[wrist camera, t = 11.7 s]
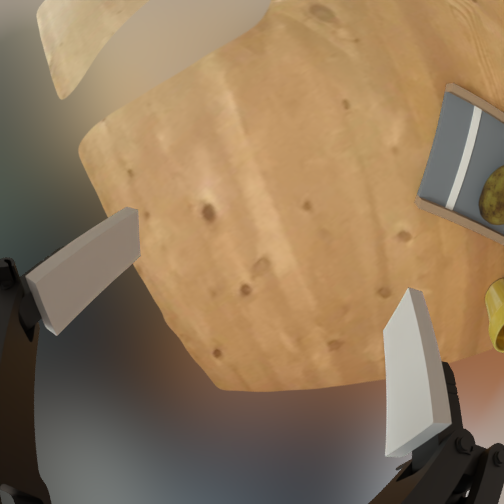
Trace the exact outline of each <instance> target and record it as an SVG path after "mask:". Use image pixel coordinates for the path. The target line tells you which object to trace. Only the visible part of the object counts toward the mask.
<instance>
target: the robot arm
mask: <svg viewBox="0 0 504 504" xmlns="http://www.w3.org/2000/svg"><path fill="white" fill-rule="evenodd" d="M140 256H141V255H140V241H139V220H138V210H137V209H133V208H129V207H125V208H124V209H122V210H120V211H119V212H117V213H115V214H114V215H112V216H111V217H109V218H107V219H106V220H104V221H103V222H101V223H100V224H98V225H96V226H95V227H93V228H92V229H90V230H89V231H87V232H86V233H84V234H83V235H81V236H80V237H78V238H77V239H75V240H74V241H72V242H71V243H69V244H68V245H66V246H63V247H61V248H59V249H57V250H56V251H54V252H53V253H51V254H50V256H47V257H46V258H45V259H44V260H42V261H40V262H39V263H38V264H36V265H35V266H34V267H32V268H31V269H30V270H29V271H27V272H26V273H25V274H23V275H22V276H21V277H19V274H18V271H17V268H16V266H15V262H14V260H13V259H12V258H2V259H0V490H2V491H5V492H7V493H9V494H10V495H11V496H12V498H13V499H14V502H15V504H51V500H50V495H49V492H48V489H47V486H46V484H45V483H44V482H43V480H42V479H41V477H40V474H39V470H38V463H37V454H36V443H35V428H34V381H35V364H36V354H37V345H38V337H39V336H38V335H39V329H40V328H39V323H38V321H39V320H40V319H41V318H42V320H43V322H44V324H45V326H46V328H47V329H48V330H50V331H51V332H53V333H54V334H55V335H58V334H59V333H60V332H61V331H62V330H63V329H64V328H65V327H66V326H67V325H68V324H69V323H70V322H71V321H72V320H73V319H74V318H75V317H76V316H77V315H78V314H79V313H80V312H81V311H82V310H83V309H84V308H85V307H86V306H87V305H88V304H89V303H90V302H91V301H92V300H93V299H94V298H95V297H96V296H97V295H99V294H100V292H102V291H103V290H104V289H105V288H106V287H107V286H108V285H109V284H110V283H111V282H112V281H114V280H115V279H116V278H117V277H118V276H119V275H120V274H121V273H122V272H123V271H124V270H126V269H127V268H128V267H129V266H130V265H131V264H132V263H134V262H135V261H136V260H137V259H138V258H139V257H140ZM383 335H384V348H385V363H386V387H387V427H386V451H385V456H388V457H404V456H405V455H407V454H409V453H410V452H412V459H411V460H409V461H407V462H405V463H404V464H402V465H400V466H399V467H397V468H396V470H399V469H401V468H402V469H401V470H400V471H399V472H398V474H397V475H396V476H395V477H394V478H393V479H392V480H391V481H390V483H388V485H386V487H385V488H384V489H383V490H382V491H381V492H380V493H379V494H378V495H377V496H376V497H375V498H374V499H373V500H372V501H370V502H369V503H368V504H498V502H499V498H500V495H501V491H502V488H503V484H504V445H503V444H500V443H496V444H494V445H492V446H491V447H489V448H488V449H486V448H483V447H480V446H478V445H476V444H475V441H474V437H473V436H472V434H471V433H470V432H469V431H468V430H466V429H463V424H462V417H461V410H460V404H459V398H458V395H457V388H456V386H455V385H456V383H455V378H454V374H453V371H452V370H451V368H450V366H449V364H448V363H447V362H442V361H441V357H440V353H439V349H438V345H437V341H436V337H435V333H434V329H433V326H432V322H431V319H430V315H429V312H428V308H427V305H426V302H425V299H424V296H423V293H422V291H419V290H416V289H412V288H409V287H408V289H407V291H406V293H405V294H404V296H403V298H402V300H401V301H400V303H399V305H398V307H397V308H396V310H395V312H394V314H393V315H392V317H391V319H390V320H389V322H388V323H387V325H386V327H385V328H384V330H383ZM468 490H470V491H469V494H468V497H465V496H466V492H467V491H468ZM0 504H2V502H1V497H0Z"/></svg>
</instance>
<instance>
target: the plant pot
mask: <svg viewBox="0 0 504 504" xmlns="http://www.w3.org/2000/svg"><path fill="white" fill-rule="evenodd" d="M485 303H486V308H487V312H488V317H489V322H490V324H489V335H490V338H491V341H492V343H493V346H494V348H495V349H496V350H497V351H498V352H502V353H504V278H501V279H499V280H497V281H496V282H494V283H493V284H492V285H491V286H490V288H489V289H488V291H487V293H486V296H485Z"/></svg>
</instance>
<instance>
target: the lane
mask: <svg viewBox="0 0 504 504" xmlns="http://www.w3.org/2000/svg"><path fill="white" fill-rule="evenodd" d="M503 165H504V113H503V112H502V111H500V110H499V109H497V108H496V107H494V106H493V105H491V104H489V103H488V102H486V101H485V100H483V99H481V98H480V97H478V96H476V95H474V94H473V93H471V92H469V91H467V90H465V89H464V88H462V87H460V86H458V85H456V84H454V83H450V84H446V88H445V94H444V99H443V104H442V108H441V113H440V117H439V122H438V126H437V130H436V134H435V138H434V142H433V145H432V149H431V152H430V156H429V159H428V163H427V166H426V169H425V172H424V175H423V179H422V182H421V185H420V188H419V190H418V193H417V196H416V199H415V202H414V203H415V204H416V205H417V207H418V208H419V209H422V210H424V211H427V212H430V213H432V214H435V215H437V216H440V217H442V218H444V219H447V220H449V221H452V222H454V223H456V224H459V225H461V226H463V227H466V228H468V229H470V230H472V231H475V232H477V233H479V234H481V235H483V236H485V237H487V238H490V239H492V240H494V241H496V242H498V243H500V244H502V245H504V224H503V225H492V224H490V223H488V222H487V221H485V220H484V219H483V218H482V217H481V215H480V211H479V206H478V204H479V198H480V195H481V192H482V189H483V187H484V184H485V182H486V181H487V179H488V178H489V177H490V175H491V174H492V173H493V172H494V171H495V170H496V169H498V168H499V167H500V166H503Z"/></svg>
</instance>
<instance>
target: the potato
mask: <svg viewBox="0 0 504 504" xmlns="http://www.w3.org/2000/svg"><path fill="white" fill-rule="evenodd" d="M478 206H479V211H480V215H481V217H482V218H483V219H484V220H485V221H487V222H488V223H490V224H492V225H503V224H504V165H503V166H500V167H499V168H498V169H496V170H495V171H494V172H493V173H492V174H491V175H490V177H489V178H488V179H487V181H486V182H485V184H484V187H483V189H482V192H481V195H480V198H479V204H478Z"/></svg>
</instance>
